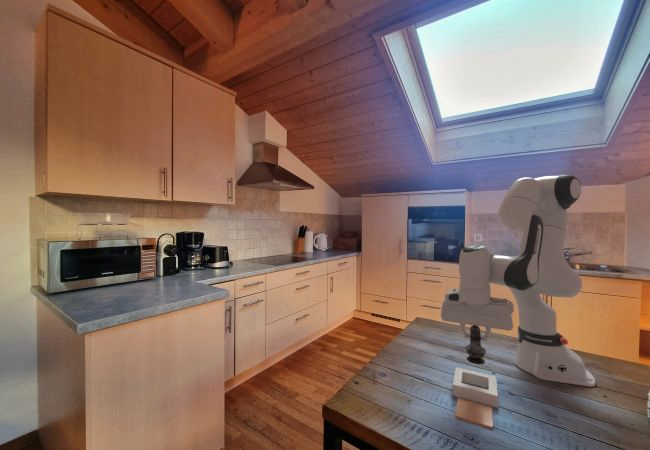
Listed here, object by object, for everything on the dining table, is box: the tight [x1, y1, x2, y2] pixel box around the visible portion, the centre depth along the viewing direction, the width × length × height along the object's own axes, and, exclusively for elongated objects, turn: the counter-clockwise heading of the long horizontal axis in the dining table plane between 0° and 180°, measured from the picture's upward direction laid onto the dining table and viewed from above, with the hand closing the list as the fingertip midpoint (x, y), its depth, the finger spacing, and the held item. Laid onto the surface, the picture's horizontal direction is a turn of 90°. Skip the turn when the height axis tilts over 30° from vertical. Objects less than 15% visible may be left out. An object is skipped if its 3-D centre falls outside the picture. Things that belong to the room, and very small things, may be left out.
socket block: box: [452, 366, 499, 409], centre depth 88 cm, size 12×12×4 cm
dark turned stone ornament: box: [465, 325, 487, 365], centre depth 88 cm, size 6×6×12 cm
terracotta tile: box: [454, 397, 494, 430], centre depth 78 cm, size 9×9×1 cm
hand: (475, 338), depth 88 cm, fingers closed on dark turned stone ornament, 4 cm apart
